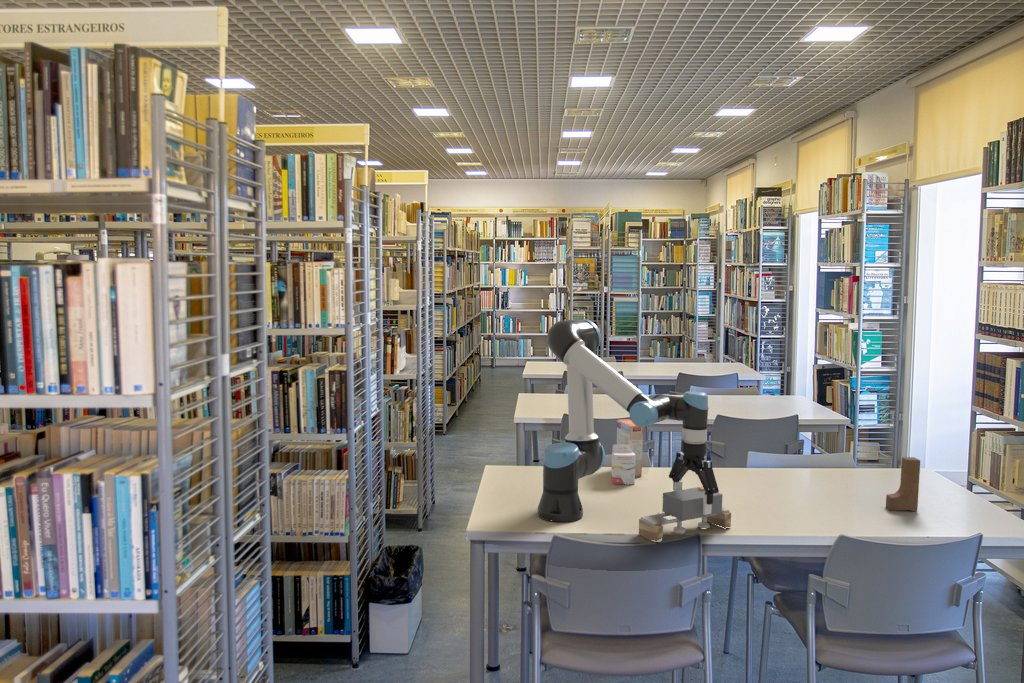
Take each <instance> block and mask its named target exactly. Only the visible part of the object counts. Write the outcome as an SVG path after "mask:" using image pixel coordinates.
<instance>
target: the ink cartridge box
mask: <svg viewBox="0 0 1024 683" xmlns="http://www.w3.org/2000/svg"><path fill="white" fill-rule="evenodd" d="M620 447H626V448H627V449H619V448H620ZM635 461H636V455H635V454H634V453H633V445H620V444H619V445H617V444H612V452H611V472H610V482H611V483H612V485H613V484H614V485H615V484H622V485H621V486H623V485H624V484H625V485H624V486H626V484H627V486H628V485H629V484H635V485H636V483H635V482H636V481H635V480H636V477H635ZM629 486H630V485H629Z"/></svg>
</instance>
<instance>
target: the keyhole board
mask: <svg viewBox="0 0 1024 683" xmlns="http://www.w3.org/2000/svg"><path fill="white" fill-rule="evenodd" d="M666 517H673V518H672V519H671V518H670V519H668V518H666ZM703 517H706V521H708V522H710V523H709V524H711V523H713V524H716V525H719V526H722V527H724V528H726V527H731V526H732V525H731V524H732V512H731V511H730V509H729V508H726V507H724V506H722V513H719V514H714V515H708V516H703ZM695 519H702V517H698V518H692V519H687V520H680V519H678V518H676V517H674V516H671V515H669V514H667V513H665V512H662V513H656V514H651V515H645V516H640V518H638V535H639V534H640V535H642V536H643V537H642V536H641V537H642V538H644V537H645V539H646V540H648V539H649V541H650V540H655V541H657V540H659V539H661V538H662V537H663V538H664V525H668V524H669V525H670V524H675V523H677V522H680V521H682V522H684V521H685V522H686V521H690V520H691V521H692V520H695ZM708 522H707V523H708ZM713 524H712V525H713ZM640 535H639V536H640Z"/></svg>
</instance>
